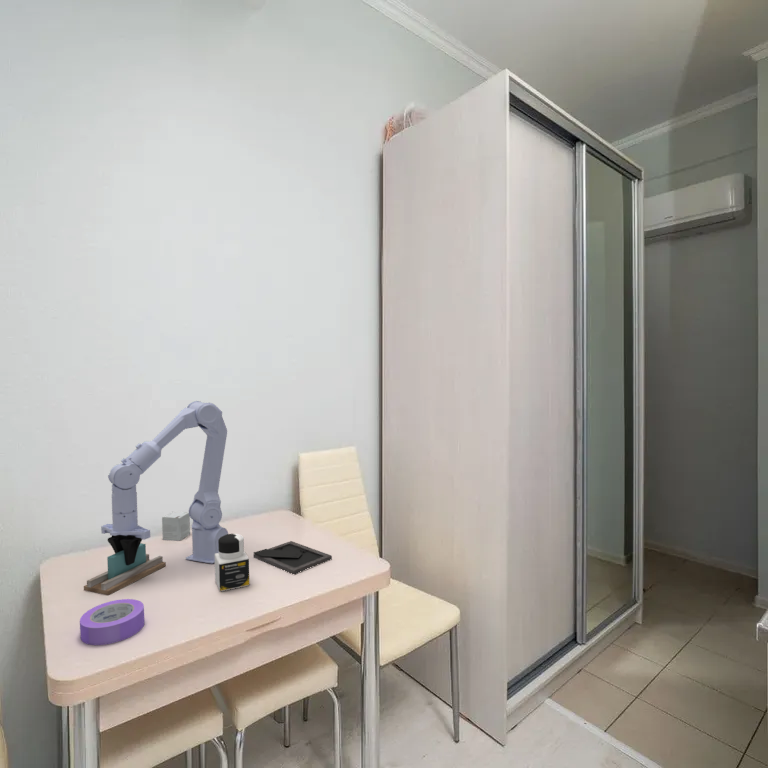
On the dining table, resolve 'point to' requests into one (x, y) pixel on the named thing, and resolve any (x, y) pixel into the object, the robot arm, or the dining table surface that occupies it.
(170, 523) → the skincare box
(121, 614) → the masking tape
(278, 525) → the dining table surface
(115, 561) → the door panel
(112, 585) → the door track
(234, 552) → the medicine bottle
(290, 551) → the picture frame
